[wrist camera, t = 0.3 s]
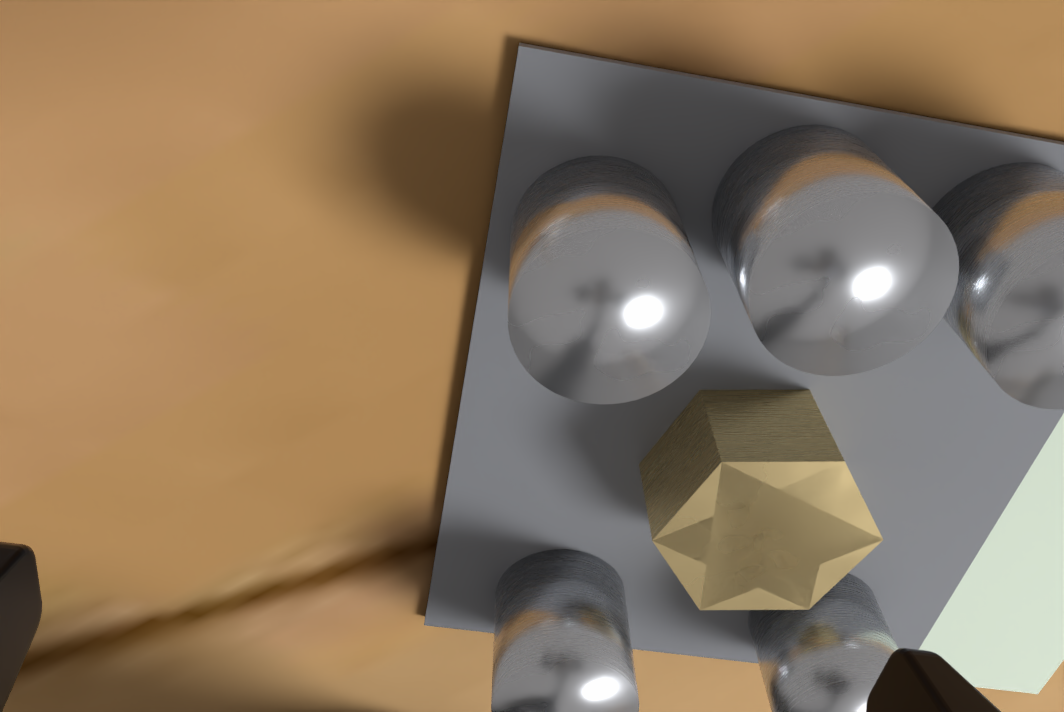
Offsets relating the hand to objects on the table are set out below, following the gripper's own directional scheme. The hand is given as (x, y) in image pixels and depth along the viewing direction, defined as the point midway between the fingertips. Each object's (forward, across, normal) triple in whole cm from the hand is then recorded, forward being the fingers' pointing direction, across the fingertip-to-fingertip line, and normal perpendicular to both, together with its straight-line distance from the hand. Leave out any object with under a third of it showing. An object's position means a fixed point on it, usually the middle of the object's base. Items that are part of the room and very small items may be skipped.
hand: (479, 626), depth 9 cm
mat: (+13, -11, +6) cm, 18 cm away
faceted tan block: (+13, -8, +7) cm, 16 cm away
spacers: (+13, -7, +6) cm, 16 cm away
